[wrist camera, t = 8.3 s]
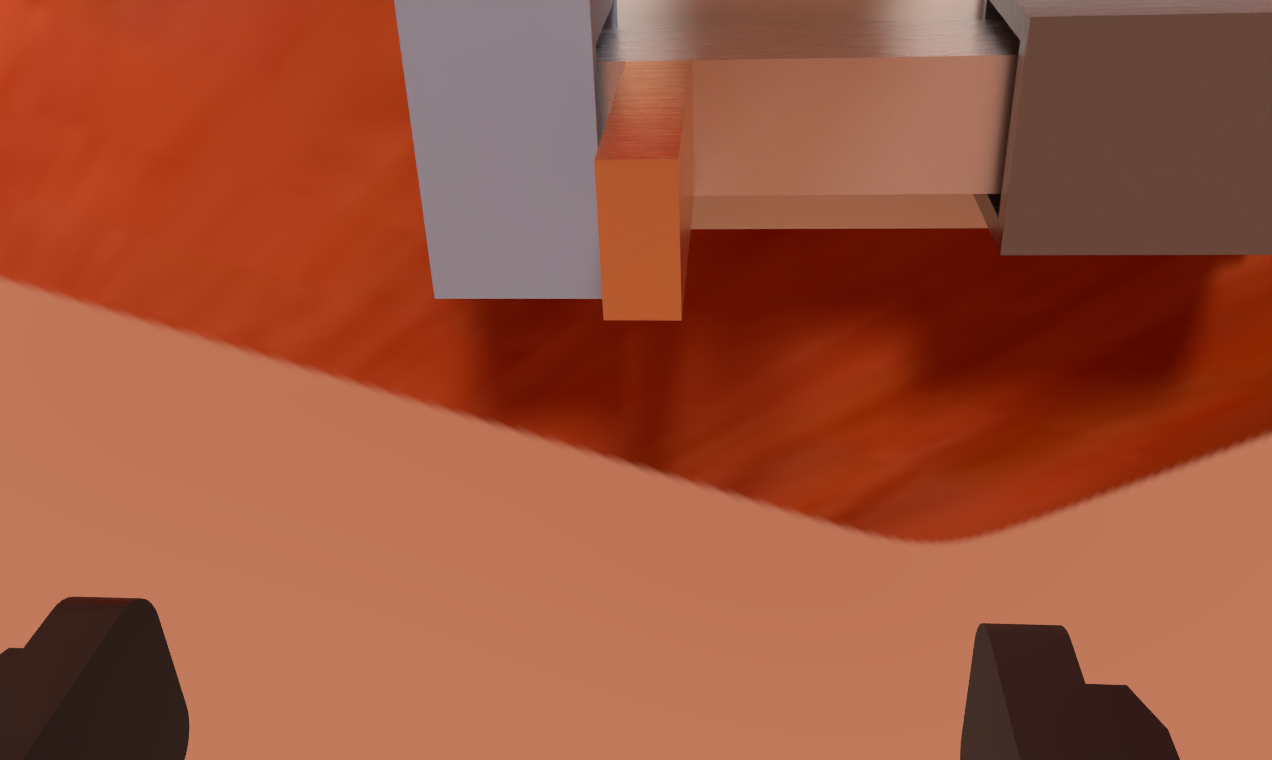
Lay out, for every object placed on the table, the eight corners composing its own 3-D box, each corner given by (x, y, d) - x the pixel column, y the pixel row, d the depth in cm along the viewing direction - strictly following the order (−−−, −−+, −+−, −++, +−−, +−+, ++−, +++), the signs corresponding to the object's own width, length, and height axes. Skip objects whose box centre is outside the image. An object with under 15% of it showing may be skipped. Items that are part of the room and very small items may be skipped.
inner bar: (1035, 18, 27) (1153, 154, 19) (1019, 146, 28) (1122, 321, 21) (508, 28, 28) (416, 161, 20) (520, 151, 29) (438, 320, 22)
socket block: (613, -73, 27) (587, -26, 23) (626, 211, 31) (606, 298, 27) (447, -68, 28) (390, -22, 23) (478, 212, 31) (434, 298, 27)
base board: (1341, -127, 27) (1371, -117, 26) (1261, 204, 31) (1284, 226, 30) (433, -100, 29) (418, -91, 28) (469, 208, 33) (458, 230, 32)
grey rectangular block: (1329, -44, 27) (1442, 9, 22) (1277, 169, 29) (1369, 254, 25) (985, -36, 27) (1030, 17, 23) (963, 172, 30) (1000, 255, 25)
